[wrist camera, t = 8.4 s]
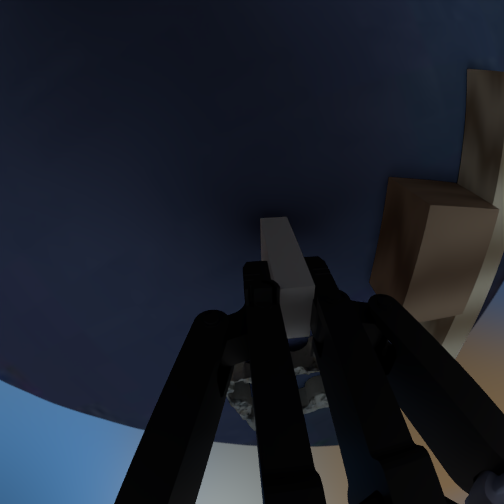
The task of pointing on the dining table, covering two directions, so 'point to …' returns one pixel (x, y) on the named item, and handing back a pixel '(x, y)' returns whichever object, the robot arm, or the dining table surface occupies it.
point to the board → (479, 193)
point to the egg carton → (303, 364)
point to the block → (431, 246)
